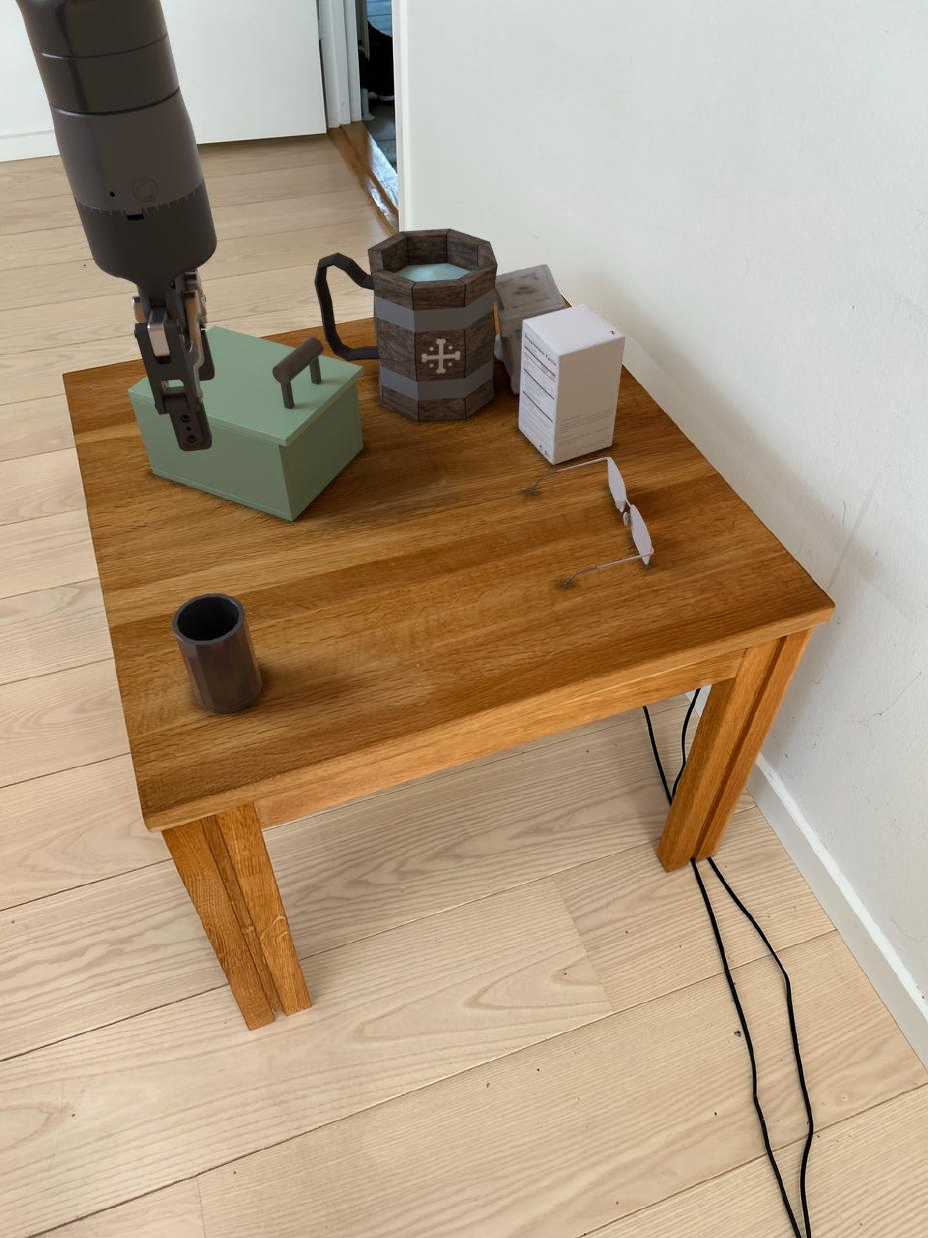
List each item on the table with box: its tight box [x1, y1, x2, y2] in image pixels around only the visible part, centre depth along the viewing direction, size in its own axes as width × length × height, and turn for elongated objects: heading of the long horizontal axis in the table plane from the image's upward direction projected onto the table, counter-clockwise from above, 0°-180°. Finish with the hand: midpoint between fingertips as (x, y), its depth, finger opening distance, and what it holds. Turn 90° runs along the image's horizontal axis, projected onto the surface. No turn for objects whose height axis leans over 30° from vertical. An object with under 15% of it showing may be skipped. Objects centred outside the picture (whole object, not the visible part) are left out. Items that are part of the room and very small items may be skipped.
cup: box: [171, 592, 263, 714], centre depth 70 cm, size 5×5×8 cm
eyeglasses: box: [528, 456, 655, 587], centre depth 85 cm, size 14×8×4 cm, turn 11°
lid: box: [127, 325, 365, 447], centre depth 85 cm, size 18×13×5 cm
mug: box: [313, 227, 499, 423], centre depth 98 cm, size 20×14×15 cm
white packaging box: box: [518, 303, 626, 466], centre depth 92 cm, size 7×7×13 cm
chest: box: [129, 380, 364, 522], centre depth 91 cm, size 17×13×9 cm
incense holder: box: [494, 264, 567, 395], centre depth 101 cm, size 10×8×10 cm
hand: (199, 411), depth 66 cm, fingers open, 8 cm apart
